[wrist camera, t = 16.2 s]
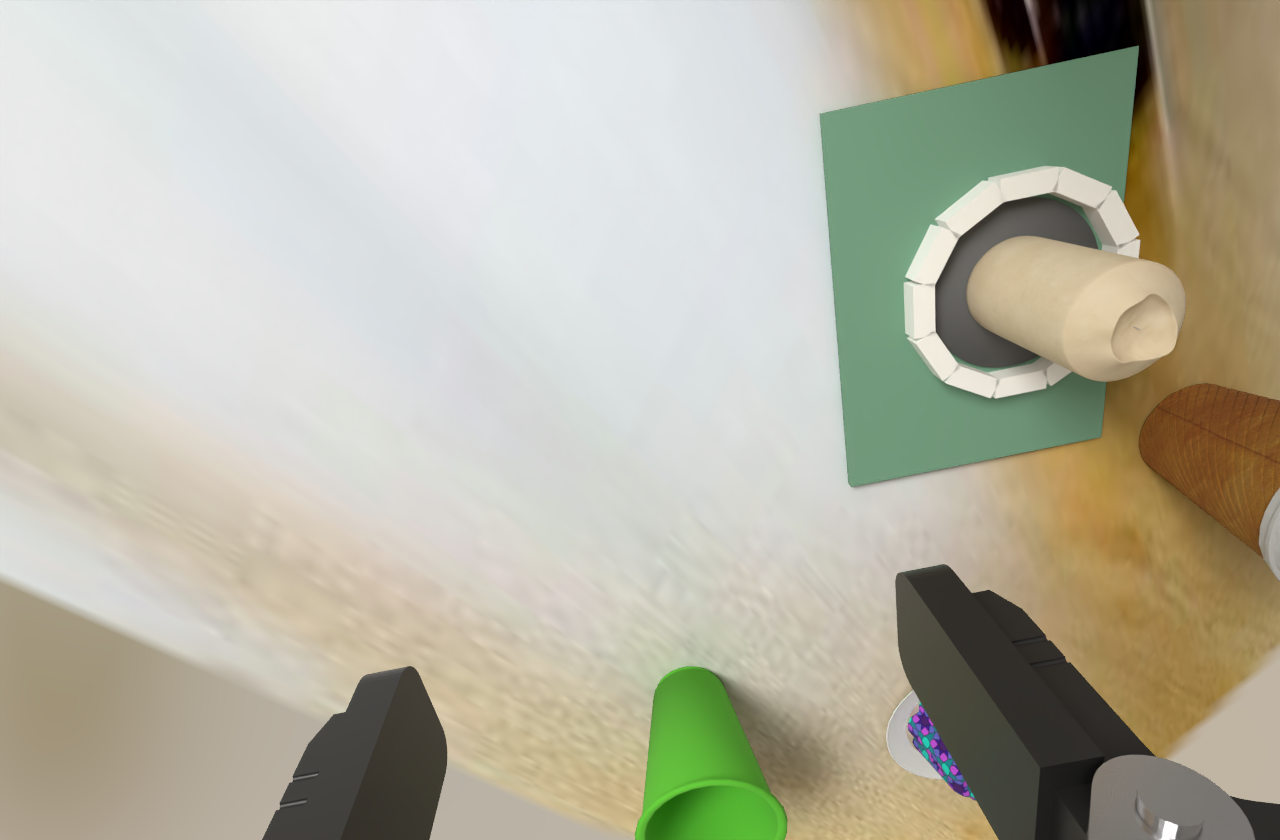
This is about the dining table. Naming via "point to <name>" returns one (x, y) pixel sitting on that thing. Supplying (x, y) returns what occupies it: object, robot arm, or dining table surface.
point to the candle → (1078, 305)
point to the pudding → (922, 747)
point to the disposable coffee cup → (1222, 459)
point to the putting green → (966, 257)
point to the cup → (703, 768)
